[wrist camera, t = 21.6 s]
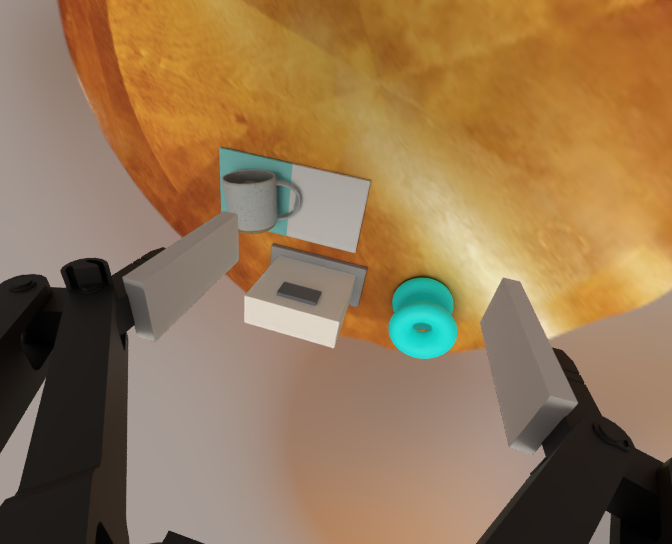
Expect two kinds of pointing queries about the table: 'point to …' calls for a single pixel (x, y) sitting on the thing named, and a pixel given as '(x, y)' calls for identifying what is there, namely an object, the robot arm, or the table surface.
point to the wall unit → (304, 295)
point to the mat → (308, 199)
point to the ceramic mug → (255, 199)
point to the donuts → (423, 318)
